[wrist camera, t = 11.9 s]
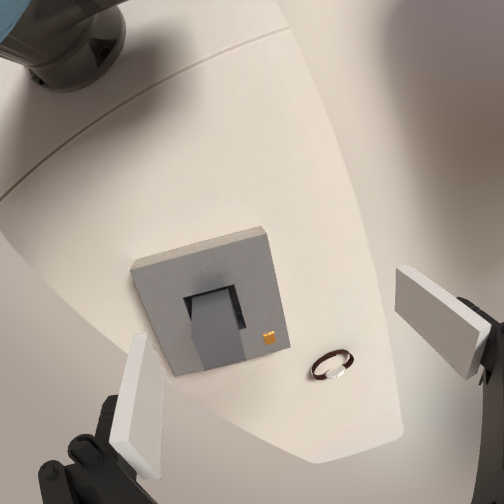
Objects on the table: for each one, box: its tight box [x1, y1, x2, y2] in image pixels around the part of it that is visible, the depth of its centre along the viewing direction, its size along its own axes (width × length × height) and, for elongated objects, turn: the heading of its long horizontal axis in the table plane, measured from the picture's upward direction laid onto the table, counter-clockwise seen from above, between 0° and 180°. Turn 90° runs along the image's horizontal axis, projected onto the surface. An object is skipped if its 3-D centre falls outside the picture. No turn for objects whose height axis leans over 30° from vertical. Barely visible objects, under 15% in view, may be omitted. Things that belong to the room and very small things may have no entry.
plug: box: [191, 286, 246, 370], centre depth 39 cm, size 5×5×12 cm
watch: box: [312, 349, 354, 380], centre depth 51 cm, size 8×5×4 cm, turn 113°
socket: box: [130, 226, 291, 376], centre depth 43 cm, size 18×18×4 cm
